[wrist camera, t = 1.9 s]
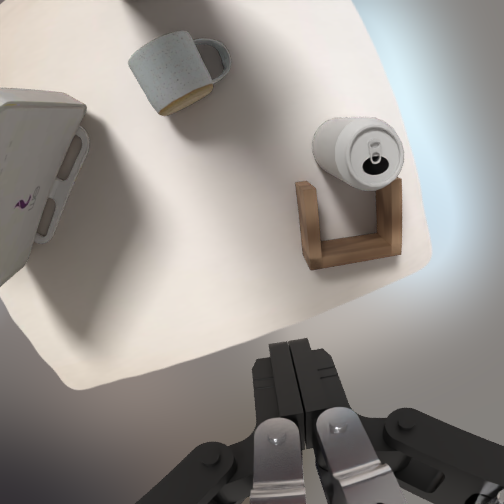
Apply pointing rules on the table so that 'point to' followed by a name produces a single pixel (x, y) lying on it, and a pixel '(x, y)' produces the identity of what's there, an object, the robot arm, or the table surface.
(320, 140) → the can
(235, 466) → the robot arm
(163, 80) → the ceramic mug
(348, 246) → the dock
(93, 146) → the table surface
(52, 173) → the network device
